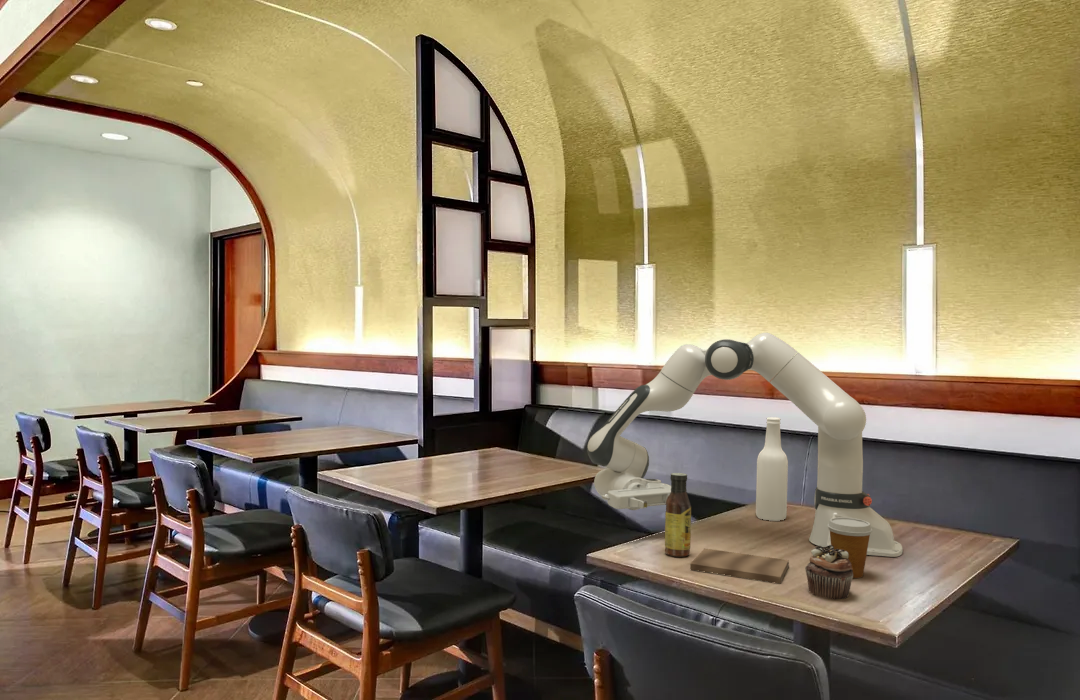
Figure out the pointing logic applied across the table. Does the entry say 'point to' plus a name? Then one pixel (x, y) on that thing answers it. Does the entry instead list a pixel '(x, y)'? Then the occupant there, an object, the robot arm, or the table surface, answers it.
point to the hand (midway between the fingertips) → (660, 503)
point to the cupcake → (829, 573)
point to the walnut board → (741, 565)
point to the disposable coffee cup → (851, 540)
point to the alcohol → (772, 475)
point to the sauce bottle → (678, 518)
